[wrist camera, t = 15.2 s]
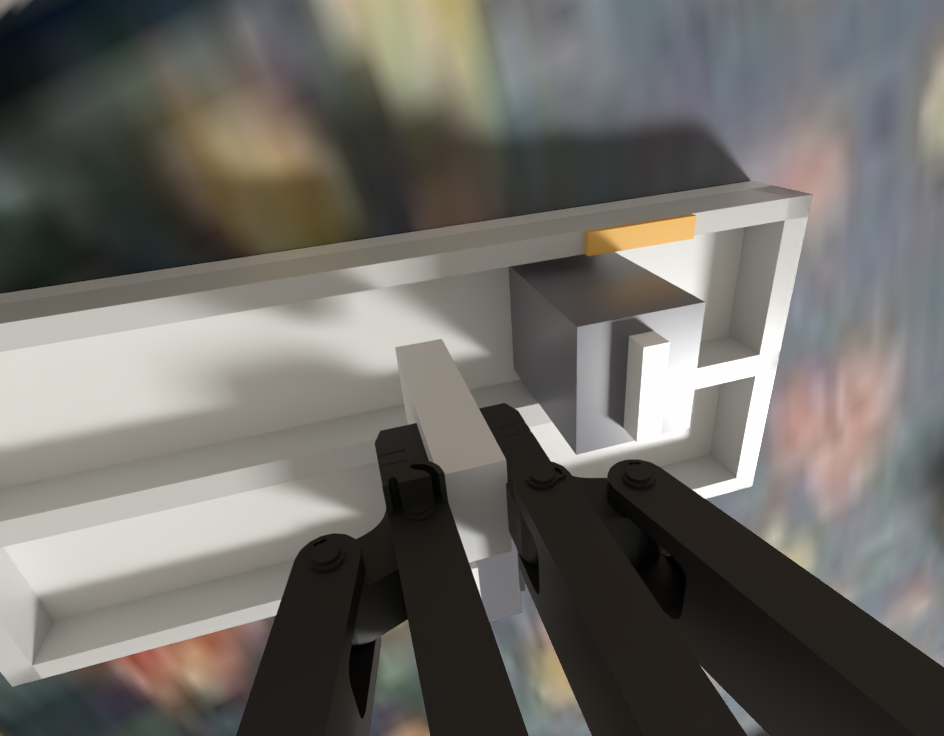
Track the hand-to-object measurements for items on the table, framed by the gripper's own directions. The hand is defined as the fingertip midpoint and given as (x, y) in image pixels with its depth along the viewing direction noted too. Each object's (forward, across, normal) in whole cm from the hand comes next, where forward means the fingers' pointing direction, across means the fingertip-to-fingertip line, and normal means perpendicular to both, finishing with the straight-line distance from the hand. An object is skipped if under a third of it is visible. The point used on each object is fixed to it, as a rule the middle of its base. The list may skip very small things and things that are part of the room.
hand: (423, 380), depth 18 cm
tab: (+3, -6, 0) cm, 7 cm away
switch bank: (+5, +1, +3) cm, 6 cm away
